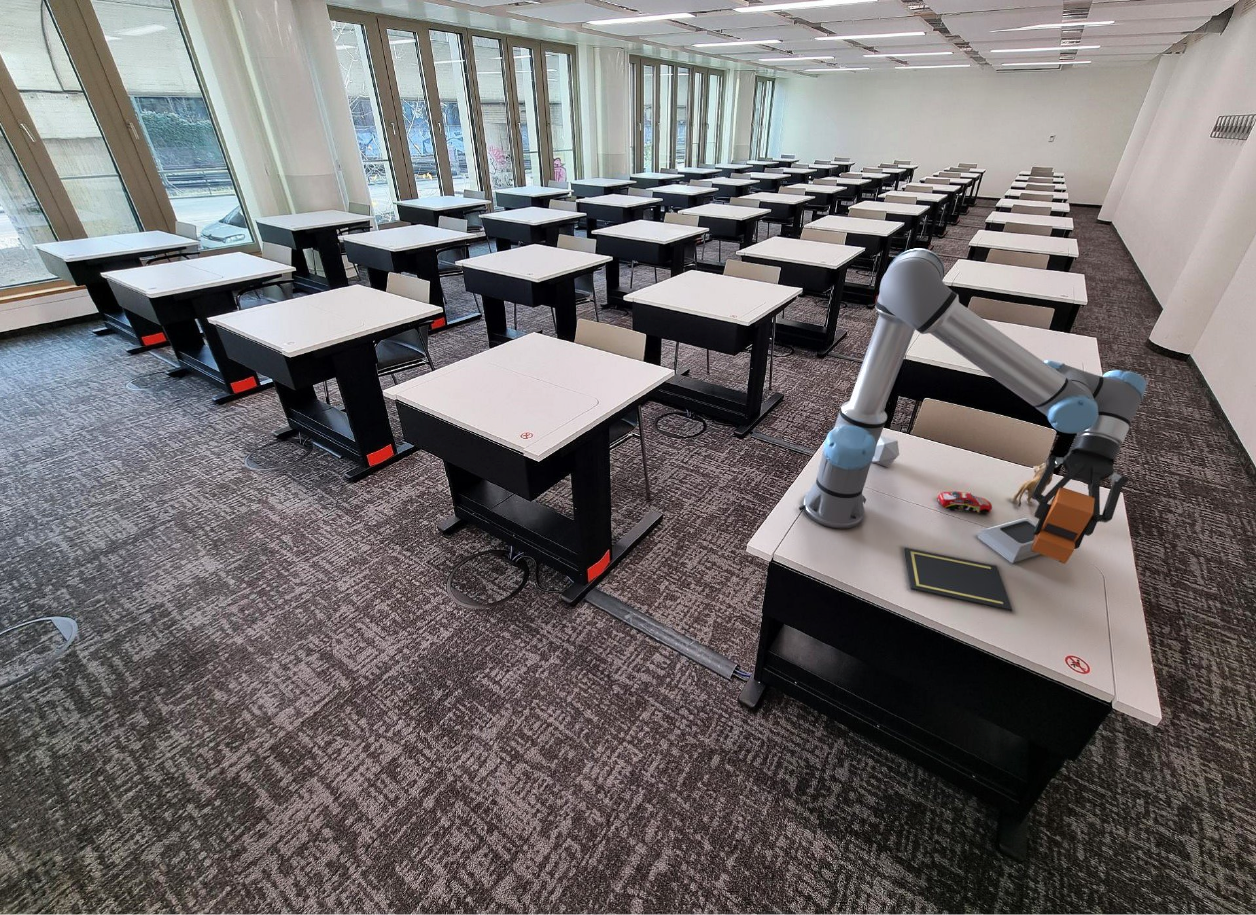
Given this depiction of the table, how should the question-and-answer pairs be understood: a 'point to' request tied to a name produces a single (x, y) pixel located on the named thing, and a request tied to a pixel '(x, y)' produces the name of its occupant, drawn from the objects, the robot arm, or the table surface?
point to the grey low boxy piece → (1011, 539)
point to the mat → (956, 578)
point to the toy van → (1063, 524)
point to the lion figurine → (1032, 484)
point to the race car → (964, 502)
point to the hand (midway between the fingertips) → (1055, 540)
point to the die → (886, 451)
